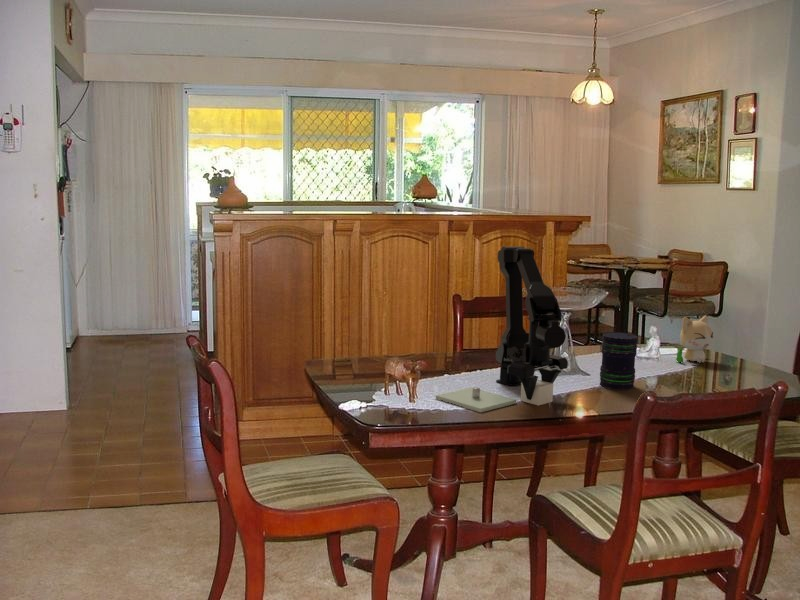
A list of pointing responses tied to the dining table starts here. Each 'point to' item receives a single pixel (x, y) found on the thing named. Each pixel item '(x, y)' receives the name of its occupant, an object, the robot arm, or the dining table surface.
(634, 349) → the storage jar
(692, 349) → the kitten
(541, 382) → the block
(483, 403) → the stub plate
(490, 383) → the dining table surface
